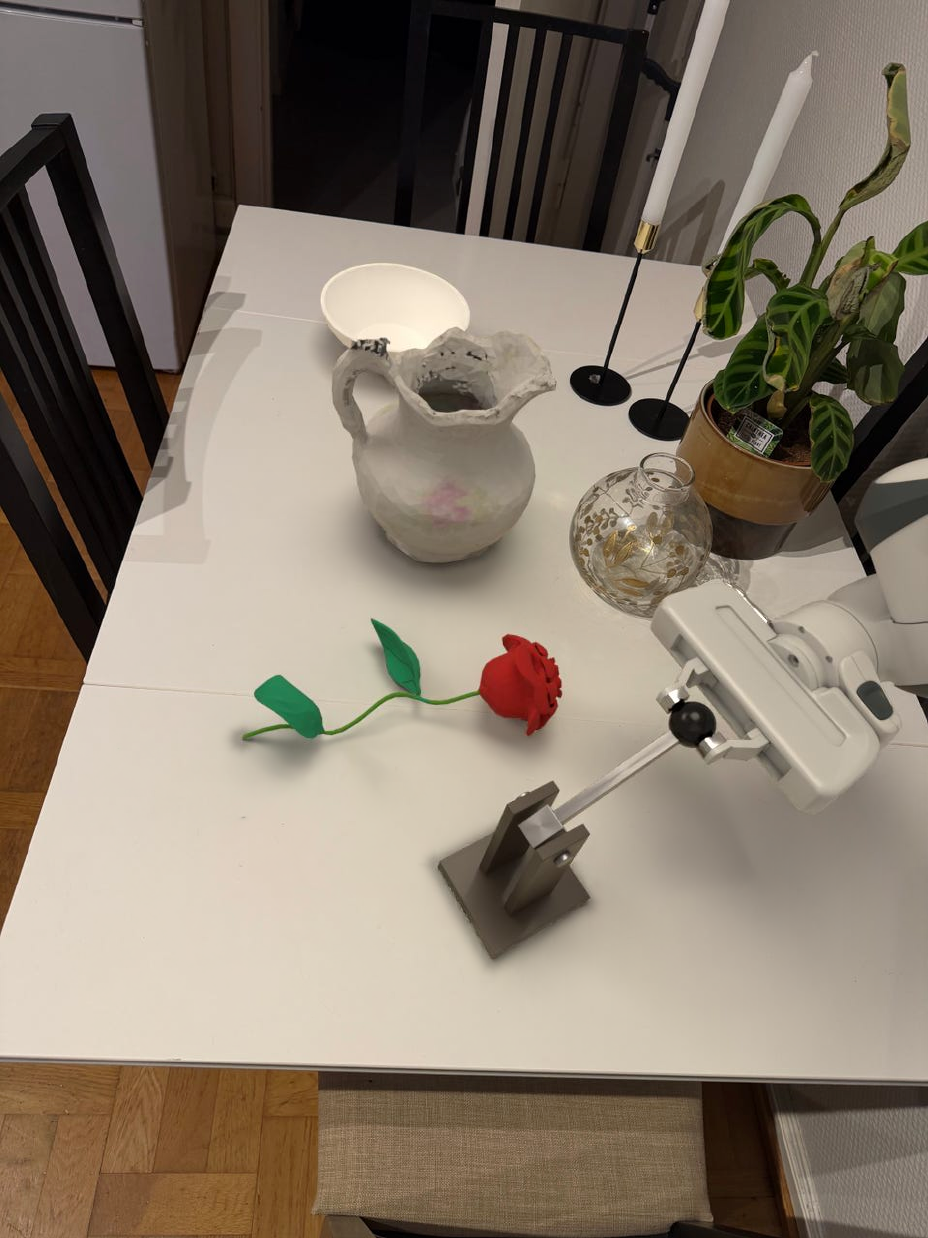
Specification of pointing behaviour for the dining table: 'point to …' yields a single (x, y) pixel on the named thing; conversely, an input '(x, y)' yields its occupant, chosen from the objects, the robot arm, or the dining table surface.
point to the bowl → (392, 306)
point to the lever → (623, 772)
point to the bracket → (516, 876)
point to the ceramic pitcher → (445, 439)
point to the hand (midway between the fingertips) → (683, 728)
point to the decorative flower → (507, 686)
